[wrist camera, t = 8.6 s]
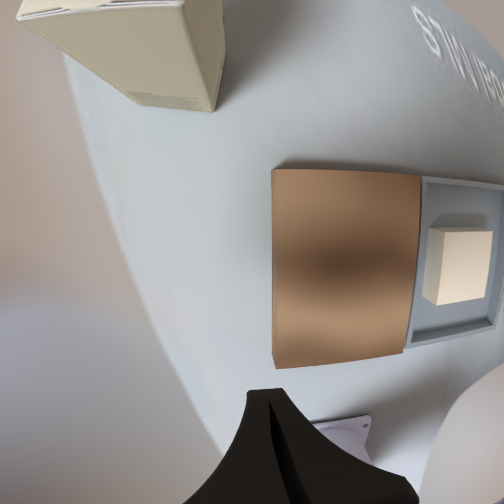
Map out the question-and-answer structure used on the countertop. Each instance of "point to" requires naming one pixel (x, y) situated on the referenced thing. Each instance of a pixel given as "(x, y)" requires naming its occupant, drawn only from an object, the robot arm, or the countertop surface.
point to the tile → (456, 264)
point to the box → (140, 45)
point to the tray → (431, 216)
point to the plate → (341, 264)
